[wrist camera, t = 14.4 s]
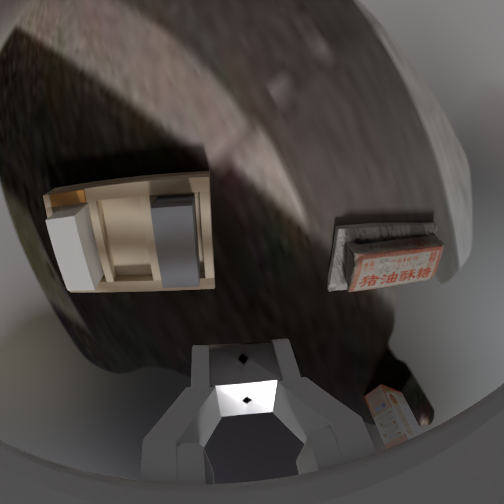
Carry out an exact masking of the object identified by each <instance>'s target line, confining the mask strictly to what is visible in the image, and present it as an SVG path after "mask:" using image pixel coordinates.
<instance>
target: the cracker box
mask: <svg viewBox="0 0 504 504" xmlns="http://www.w3.org/2000/svg"><path fill="white" fill-rule="evenodd" d="M364 398H365V400H366V402H367V405H368V407H369V409H370V412H371V414H372V416H373V418H374V421H375V423H376V425H377V428H378V429H379V432H380V435H381V437H382V439H383V441H384V444H385V447H386V449H388V448H391V447H393V446H396V445H398V444H400V443H403V442H405V441H407V440H410V439H412V438H414V437H416V436H418V435H420V434H422V431H421V429H420V427H419V425H418V423H417V421H416V419H415V417H414V416H413V414H412V412H411V410H410V408H409V406H408V404H407V402H406V400H405V398H404V396H403V394H402V392H400V391H397V390H395V389H392V388H390V387H387V386H385V385H383V384H380V385H379V386H378V387H376V388H375V389H373V390H372V391H371V392H369V393H368V394H366V395H365V396H364Z"/></svg>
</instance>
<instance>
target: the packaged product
mask: <svg viewBox="0 0 504 504" xmlns="http://www.w3.org/2000/svg"><path fill="white" fill-rule="evenodd" d="M436 230H437V226H436V224H435V223H433V222H425V223H413V222H387V223H365V224H352V225H340V226H336V228H335V234H334V242H333V249H332V256H331V261H330V268H329V274H328V284H327V289H328V291H329V292H330V291H334V290H345V289H347V291H348V292H352V291H361V290H368V289H375V288H381V287H387V286H393V285H400V284H405V283H411V282H417V281H424V280H428V279H431V278H432V276H433V275H434V274H435V273H436V269H437V267H438V263H439V260H440V258H441V254H442V251H443V247H444V243H442V241H441V240H439V239H438V237H437V236H435V232H436Z"/></svg>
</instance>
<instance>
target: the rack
mask: <svg viewBox="0 0 504 504" xmlns="http://www.w3.org/2000/svg"><path fill="white" fill-rule="evenodd" d="M43 198H44V203H45V208H46V213H47V217H48V218H49V217H50V216H51V215H53V214H54V213H55V212H56V211H58V210H59V209H60V208H62V207H67V206H74V205H81V204H87V203H88V205H89V210H90V215H91V220H92V225H93V230H94V235H95V239H96V243H97V247H98V252H99V256H100V259H101V263H102V267H103V271H104V275H103V276H102V278H101V280H100V282H99V284H98V286H97V287H96V289H95V290H79V291H70V292H135V291H168V290H193V289H214V288H215V273H214V258H213V241H212V222H211V200H210V171H198V172H182V173H168V174H156V175H146V176H136V177H127V178H118V179H111V180H103V181H96V182H89V183H82V184H76V185H70V186H64V187H59V188H54V189H53V190H51V191H50V192H48V193H46V194H45V195H43Z"/></svg>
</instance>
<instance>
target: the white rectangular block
mask: <svg viewBox="0 0 504 504" xmlns="http://www.w3.org/2000/svg"><path fill="white" fill-rule="evenodd" d="M46 224H47V228H48V232H49V235H50V239H51V242H52V246H53V249H54V252H55V256H56V259H57V262H58V265H59V268H60V271H61V274H62V276H63V279H64V282H65V285H66V287H67V290H68V291H79V290H95V289H96V287H97V286H98V284H99V282H100V280H101V278H102V276H103V275H104V271H103V267H102V263H101V259H100V256H99V252H98V247H97V243H96V239H95V235H94V230H93V225H92V220H91V215H90V210H89V205H88V203H87V204H81V205H74V206H67V207H62V208H60V209H59V210H58V211H56V212H55V213H54V214H53V215H51V216H50V217H49V218H48V219H46Z"/></svg>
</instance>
